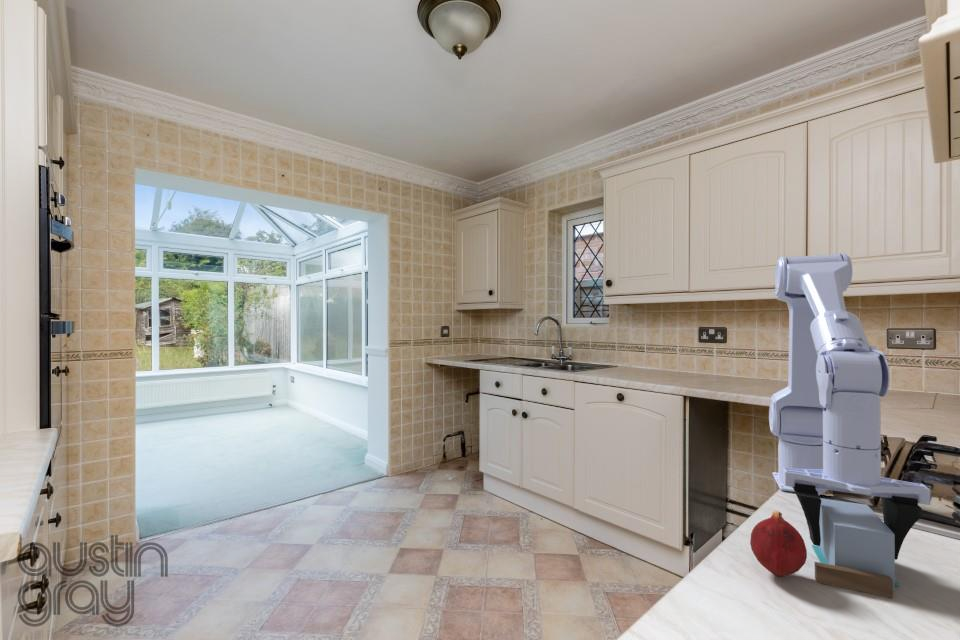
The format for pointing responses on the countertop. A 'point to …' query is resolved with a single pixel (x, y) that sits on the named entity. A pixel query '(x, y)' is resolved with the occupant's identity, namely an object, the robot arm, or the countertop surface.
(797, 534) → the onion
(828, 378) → the robot arm
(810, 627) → the countertop surface
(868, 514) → the matte gray cuboid
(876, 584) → the brown cuboid
